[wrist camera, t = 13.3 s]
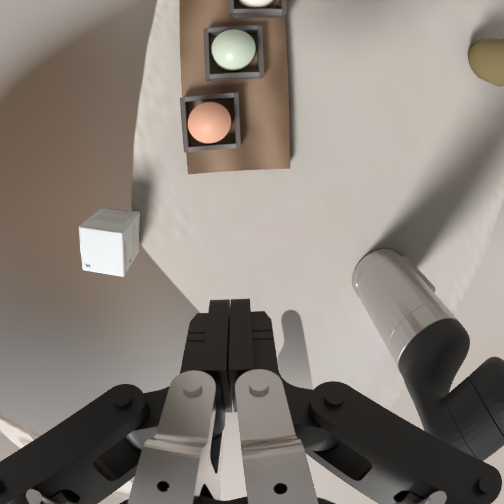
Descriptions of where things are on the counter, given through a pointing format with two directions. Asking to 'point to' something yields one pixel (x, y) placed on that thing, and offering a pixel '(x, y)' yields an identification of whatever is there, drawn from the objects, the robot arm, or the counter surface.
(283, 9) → the button panel
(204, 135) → the terracotta button
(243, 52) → the sage button
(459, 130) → the counter surface
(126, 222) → the product box
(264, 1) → the cream button
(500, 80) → the squeeze bottle
